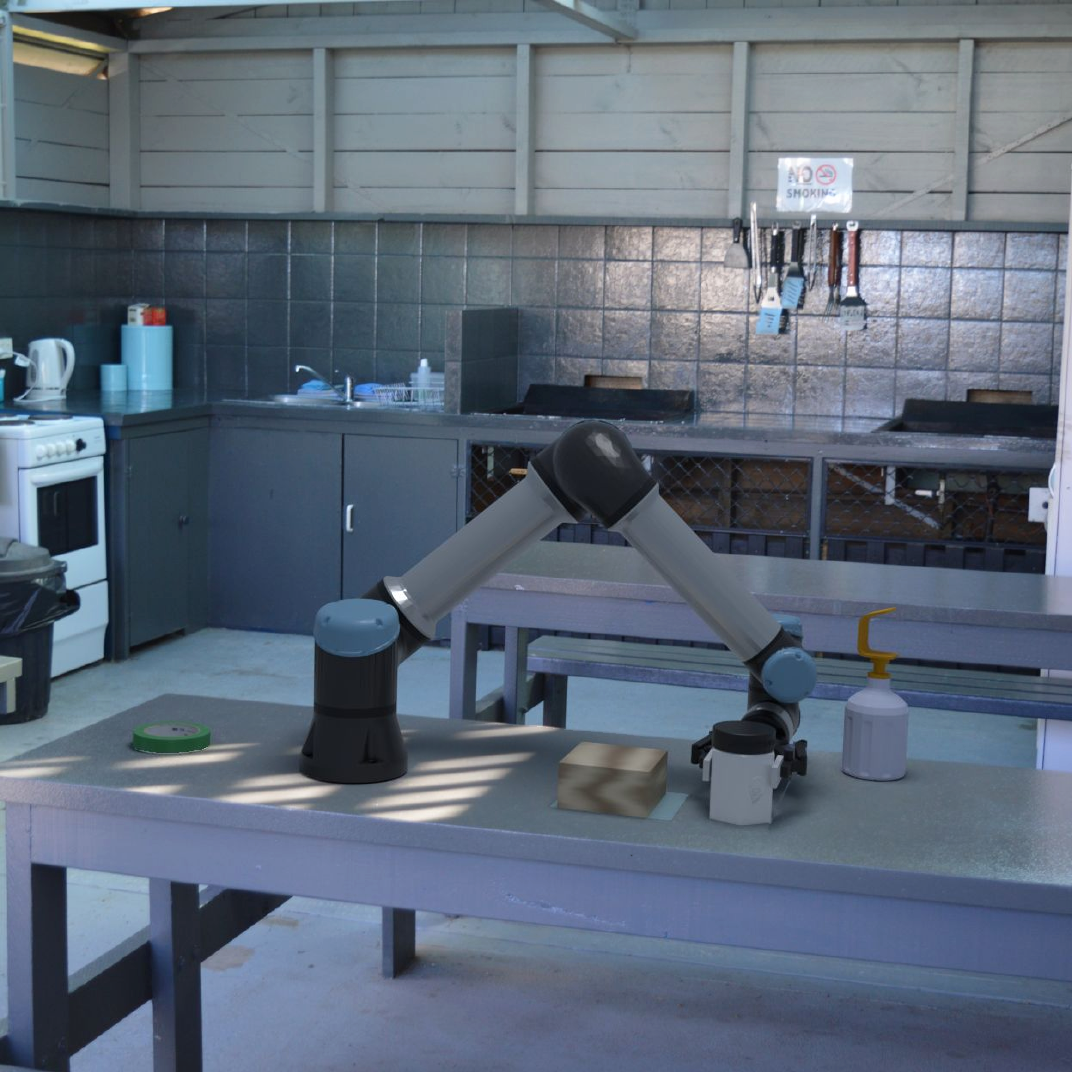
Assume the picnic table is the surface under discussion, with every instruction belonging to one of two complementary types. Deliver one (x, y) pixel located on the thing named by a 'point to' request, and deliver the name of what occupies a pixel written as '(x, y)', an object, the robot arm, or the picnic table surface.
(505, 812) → the picnic table surface
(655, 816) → the build board
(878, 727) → the soap bottle
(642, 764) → the base block
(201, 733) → the tape roll
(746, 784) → the jar
